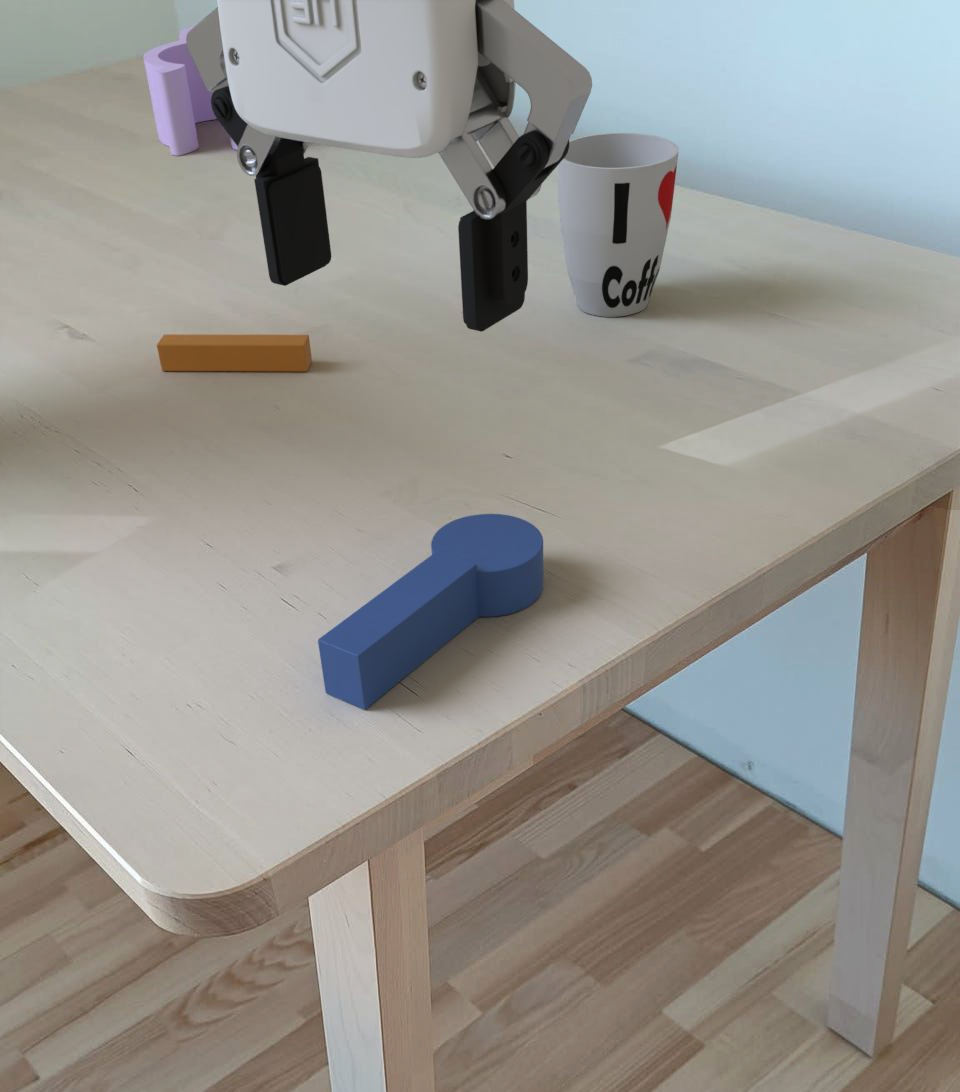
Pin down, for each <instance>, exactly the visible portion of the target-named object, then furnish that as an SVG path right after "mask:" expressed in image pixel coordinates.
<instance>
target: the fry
mask: <svg viewBox="0 0 960 1092" xmlns="http://www.w3.org/2000/svg"><path fill="white" fill-rule="evenodd" d="M311 348H312V347H311V341H310V335H309V334H183V333H182V334H167V333H166V334H163V335H162V336H161V338H160V340H159V341H158V342H157V344H156V349H157V353H158V357H159V362H160V367H161V371H163V372H293V373H295V372H296V373H297V372H302V373H303V372H304V373H305V372H308V370H309V368H310V366H311V364H312V362H313V357H312V349H311Z"/></svg>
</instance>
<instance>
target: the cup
mask: <svg viewBox="0 0 960 1092" xmlns="http://www.w3.org/2000/svg"><path fill="white" fill-rule="evenodd" d="M679 151H680V148H679V146H678V144H676V143H675V142H674V141H672V140H669V139H668V138H665V137H661V136H657V135H652V134H646V133H636V132H609V133H608V132H606V133H597V134H590V135H585V136H580V137H576V138H573V139H569V150H568V153H567V155H566V156H565V158H564V159H563V160H562V161H561V162H560V163H559V164H558V166H557V167H556V176H557V197H558V199H557V200H558V217H559V225H560V232H561V237H562V243H563V245H562V246H563V250H564V259H565V264H566V270H567V274H568V277H569V281H570V284H571V288H572V291H573V294H574V298H575V302H576V305H577V307H578V309H579V310H580V311H582V312H584V313H586V314H589V315H592V316H597V317H606V318H617V317H625V316H631V315H634V314H637V313H639V312H642V311H643V310H645V309H646V308H647V306H648V304H649V301H650V298H651V295H652V292H653V290H654V286H655V284H656V281H657V278H658V275H659V272H660V270H661V265H662V261H663V257H664V251H665V247H666V242H667V236H668V232H669V228H670V224H671V223H670V222H671V218H672V210H673V202H674V194H675V186H676V185H675V184H676V176H677V168H678V167H677V166H678V159H679Z"/></svg>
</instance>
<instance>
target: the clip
mask: <svg viewBox="0 0 960 1092" xmlns="http://www.w3.org/2000/svg"><path fill="white" fill-rule="evenodd" d="M196 25H197V24H194V25H190V26H188V27H185V28H183V29H182V30H180V31H179V33H178V34H179V39H178V40H175V41H172V42H169V43H165V44H161V45H158V46H156V47H154V48H151V49H149V50H148V51H146V52H145V53H144V54H143V56H142V57H143V58H142V59H143V65H144V68H145V74H146V79H147V84H148V89H149V90H148V91H149V95H150V100H151V107H152V110H153V116H154V121H155V126H156V132H157V136H158V141H159V142H160V143H161V144H163V145H165V146H167V147H169V150H170V155H172V156H176V157H177V156H184V155H186V154H189V153H192V152H194V151H197V149H199V147H200V146H199V141H198V133H197V127H196V124H197V123H201V122H206V121H211V120H212V121H213V120H218V119H217V118H216V116H215V114H214V112H213V110H212V106H211V97H212V93H211V91H209V92H208V91H207V89H206V87H205V84H204V82H203V80H202V78H201V76H200V74H199V72H198V70H197V68H196V66H195V63H194V61H193V59H192V57H191V55H190V53H189V51H188V48H187V43H186V37H187V34H188V32H189V31H190V30H191V29H192V28H193V27H195V26H196ZM229 138H230V145H231V147H232V149H233V150H234V151H235V150H236V151H237V148H238V146H237V145H236V144H235V142H234V141H233V140H232V138H231V137H230V136H229Z"/></svg>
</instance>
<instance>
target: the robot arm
mask: <svg viewBox="0 0 960 1092" xmlns="http://www.w3.org/2000/svg"><path fill="white" fill-rule="evenodd" d="M216 4H217V7H216V8H215V9H213V10H212V11H211V12H210V13H208V15H206V16H205V17H204V18H203V19H202V20H200V21H199V22H198V23H197V24H195V25H196V26H195V27H193V28H192V29H191V30H190V31H189V32H188V34H187V37H186V43H187V48H188V51H189V53H190V55H191V57H192V59H193V61H194V63H195V66H196V68H197V70H198V72H199V74H200V76H201V78H202V80H203V82H204V84H205V87H206V89H207V91H208V92H209V91H211V93H212V97H211V106H212V110H213V112H214V114H215V116H216V118H217V119H216V120H217V121H218V122H219V123H220V126H222V127H223V129H224V130H225V132H226V133H227V134H228V136H229V138H230V137H231V138H232V140H233V141H234V142H235V144H236V145H237V146H238V148H237V150H236V159H237V162H238V165H239V167H240V169H241V170H242V171H243V172H244V173H245V174H246V175H247V176H250V177H255V178H254V187H255V194H256V200H257V207H258V213H259V219H260V227H261V233H262V239H263V243H264V244H263V245H264V252H265V257H266V264H267V270H268V276H269V277H268V278H269V280H270V282H271V283H273V284H275V285H278V286H279V285H280V286H284V287H285V286H288V285H290V284H292V283H295V282H296V281H298V280H301V279H303V278H304V277H307V276H308V275H310V274H313V273H315V272H316V271H319V270H320V269H322V268H324V267H326V266H328V265H329V264H330V263H331V260H332V248H331V240H330V233H329V231H330V230H329V225H328V224H329V223H328V216H327V206H326V199H325V190H324V182H323V173H322V169H321V166H320V163H319V158H317V157H312V156H307V157H305V153H306V151H307V149H308V147H309V145H310V144H314V145H322V146H327V147H334V148H339V149H346V150H352V151H357V152H364V153H371V154H377V155H382V156H389V157H390V156H391V157H398V158H405V159H406V158H407V159H422V158H427V157H430V156H433V155H435V154H439V156H440V158H441V159H442V161H443V163H444V164H445V166H446V168H447V169H448V170H449V172H450V174H451V175H452V177H453V179H454V180H455V182H456V184H457V186H458V187H459V189H460V190H461V192H462V193H463V195H464V197H465V198H466V200H467V202H468V203H469V205H470V207H471V208H472V211H470V212H468V213H466V214H464V215H462V216H461V217H460V218H459V221H458V226H457V228H458V229H457V230H458V245H459V246H458V248H459V264H460V265H459V267H460V284H461V285H460V286H461V287H460V288H461V304H462V320H463V323H464V324H465V326H466V327H467V329H468V330H473V331H477V332H485V331H486V330H487V329H490V328H491V327H493V326H494V325H496V324H497V323H499V322H501V321H503V320H504V319H506V318H507V317H509V316H511V315H512V314H514V313H515V312H517V311H519V310H521V309H522V307H523V305H524V303H525V299H526V291H527V288H528V284H529V262H528V261H529V258H528V257H529V255H528V253H529V252H528V209H527V208H528V206H527V203H528V201H529V200H531V198H533V197H536V196H537V195H538V194H539V192H540V191H541V187H542V184H543V183H544V182H545V181H546V179H547V178H548V177H549V176H550V175H551V174H552V173H553V171H554V170H555V169H557V166H558V164H559V163H560V162H561V161H562V160H563V159H564V158H565V156H566V155H567V153H568V150H569V141H570V138H571V136H572V135H573V134H574V133H575V131H576V128H577V126H578V123H579V120H580V118H581V116H582V114H583V111H584V109H585V107H586V104H587V102H588V99H589V98H590V95H591V93H592V89H593V88H592V87H593V79H592V76H591V73H590V71H589V70H588V69H587V67H585V66H584V65H583V64H582V63H580V62H579V61H578V60H577V59H575V58H574V57H573V56H572V55H570V54H569V53H568V51H566V50H564V49H563V48H562V47H561V46H560V45H559V44H557V43H556V42H555V41H554V40H552V39H551V38H550V37H549V36H547V35H546V34H545V33H544V32H542V30H540V29H539V28H537V26H535V25H534V24H533V23H532V22H530V21H529V20H527V18H525V17H524V16H523V15H522V14H521V13H519V12H518V11H517V10H515V0H216ZM516 85H517V86H519V87H520V88H521V89H522V90H524V91H525V93H526V94H527V96H528V99H529V101H530V102H529V103H530V110H529V113H528V116H527V118H526V121H527V124H526V126H525V129H524V132H523V134H522V135H520V136H519V133H517V131H516V128H515V127H514V126H513V124H512V122H511V121H510V119H509V117H510V116H511V114H512V113H513V109H514V106H515V105H514V104H515V96H516V87H517V86H516ZM480 146H481V147H480ZM483 151H484V152H483ZM484 153H485V154H484ZM486 156H487V157H486ZM487 158H488V159H487ZM488 160H489V161H488ZM490 163H491V164H492V165H491V164H490ZM492 166H493V167H492Z"/></svg>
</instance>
